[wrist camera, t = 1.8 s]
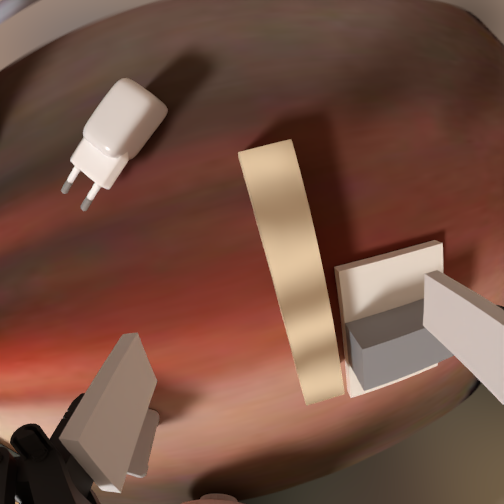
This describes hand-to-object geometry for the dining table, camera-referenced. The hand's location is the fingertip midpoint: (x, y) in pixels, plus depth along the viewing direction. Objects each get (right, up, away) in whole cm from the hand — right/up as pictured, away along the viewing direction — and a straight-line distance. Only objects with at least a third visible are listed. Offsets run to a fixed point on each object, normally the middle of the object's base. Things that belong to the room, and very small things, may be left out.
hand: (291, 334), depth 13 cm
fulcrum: (+14, -4, +18) cm, 23 cm away
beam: (+2, +1, +17) cm, 17 cm away
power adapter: (-14, +13, +13) cm, 23 cm away
